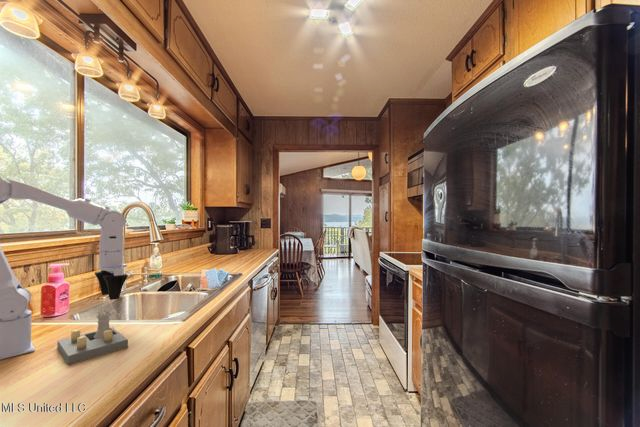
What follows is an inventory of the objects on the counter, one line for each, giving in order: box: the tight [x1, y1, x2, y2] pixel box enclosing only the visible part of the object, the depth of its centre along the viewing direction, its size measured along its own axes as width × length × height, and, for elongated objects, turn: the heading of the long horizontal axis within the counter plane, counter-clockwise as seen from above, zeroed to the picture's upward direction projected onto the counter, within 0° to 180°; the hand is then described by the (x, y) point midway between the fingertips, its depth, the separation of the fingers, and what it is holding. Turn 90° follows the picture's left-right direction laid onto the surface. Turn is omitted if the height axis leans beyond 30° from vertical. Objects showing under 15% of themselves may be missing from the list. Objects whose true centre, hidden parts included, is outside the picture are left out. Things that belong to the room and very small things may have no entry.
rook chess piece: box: [94, 310, 113, 340], centre depth 80 cm, size 4×4×8 cm
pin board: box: [56, 326, 129, 365], centre depth 76 cm, size 13×12×4 cm
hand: (110, 296), depth 86 cm, fingers open, 7 cm apart
